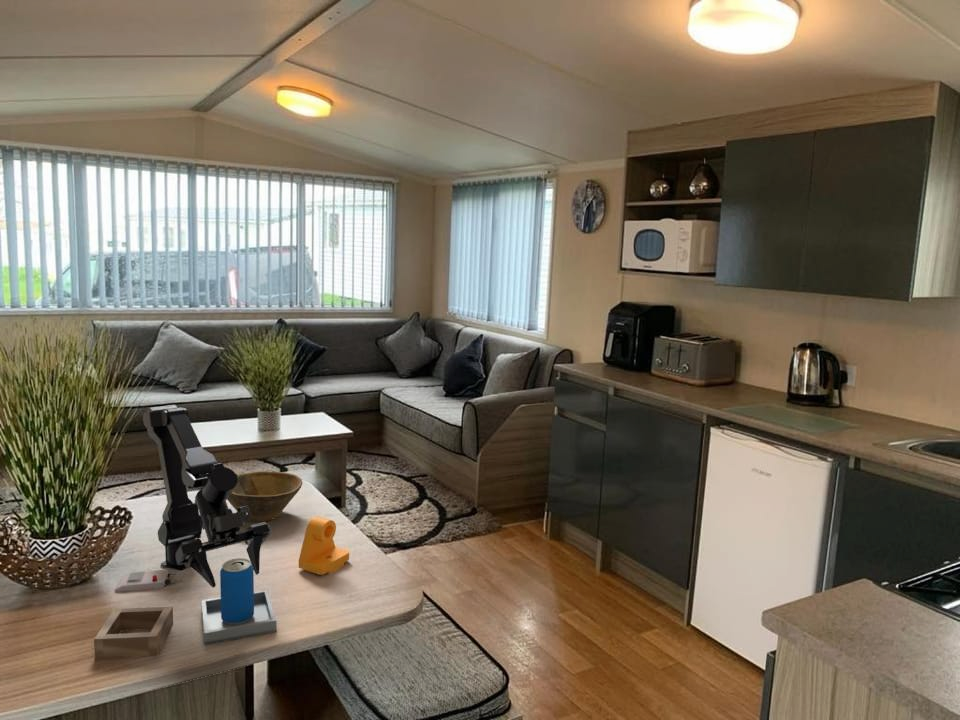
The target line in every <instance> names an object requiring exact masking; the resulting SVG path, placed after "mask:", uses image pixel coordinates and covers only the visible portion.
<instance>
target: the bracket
mask: <svg viewBox="0 0 960 720" xmlns="http://www.w3.org/2000/svg"><path fill="white" fill-rule="evenodd" d="M336 530H337V524H336V522H335V521H334V520H332V519H328V518H324V517H321V516H318V515H315V516H313V517H311V518H310V519H309V521H308V523H307V526H306V529H305V533H304V537H303V541H302V544H301V545H302V546H301V549H300V553H299V557H298V569H301V570H305V571H307V572H310V573H314V574H317V575H325V574H327V575H330V574H332V573H334V572H335V571H337V570H338V569H340V568H342V567H344V566H345V562H346V563H347V562H348V561H349V560H350V551H349V550H347V549H343V548H340V547H339V546H336V545H335V541H334V539H333V538H334V537H335V534H336V532H337V531H336Z"/></svg>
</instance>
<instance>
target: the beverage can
mask: <svg viewBox="0 0 960 720" xmlns="http://www.w3.org/2000/svg"><path fill="white" fill-rule="evenodd" d="M219 573H220V574H219V577H220V579H219V583H220V585H219V586H220V597H221V619H222V620H223V621H224V622H226V623H228V624H231V625H238V624H242V623H245V622H247V621H248V620H249V619H250V618H252V617H253V615H254V592H255V589H254V587H255V586H254V574H255V572H254V570H253V566H252V564H251V561H250V559H247V558H243V557H242V558H232V559H229V560H227V561H225V562H223V564H222V568H221V569H220V572H219Z"/></svg>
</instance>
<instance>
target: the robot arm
mask: <svg viewBox="0 0 960 720" xmlns="http://www.w3.org/2000/svg"><path fill="white" fill-rule="evenodd" d="M142 422H143V425H144V427H145V428H146V430H147V435H148V436H149V437H150V438H151V439H152V440H153V442H155V443H156V445H157V451H158V457H159V461H160V462H159V463H160V468H161V473H162V478H163V485H164V489H165V491H164V492H165V496H166V501H167V503H166V505H165V508H164V511H163V513H162V516H161V517H162V522H161V524H160V526H159V528H158V530H157V538H158V542H159V543H161V544H162V545H163V546H164V547H165V548H164V550H165V561H162V562H161V563H160V567H164V568H168V569H172V570H176V571H184V570H185V569H187V568H189V567H190V568H191V569H192V570H194V571H195V572H196V573H198V574H199V575H200V576H201V577H202V579H204V580H205V581H206V583H207V584H208V585H209V586H210V587H211V588H216V586H217V584H216V581H215V577H214V574H213V572H212V569H211V567H210V564H209V562H208V557H207V552H211V551H213V550H218V549H221V548H225V547H228V546H233V545H237V544H240V543H245V545H247V547H246V549H245V550H246V552H247V556H248V558H249V559H248V560H250V561H251V565H252V566H253V573H254V574H255V575H259V574H260V558H261V557H260V556H261V554H260V553H261V547H262V545H263V543H264V542H266V540H267V539H268V538H269V536H270V535H271V534H272V529H271V527H270V524H268V523H267V522H266V521H261V522H257V523H255V524H251V525H249V526H248V528H247V529H246V531H244V532H240V530H241V528H242V527H245V522H248V521H249V520H251V513H250V510H249V508H248V506H243V507H240V508H237V510H236V512H233V510H232V508H229V507H228V503H227V501H228V500H227V499H228V498H229V496H230V495H231V493H232V491H233V490H234V488H235V486H236V485H237V482H238V478H237V475H238V474H237V473H236V472H235V471H234V470H232V469H231V468H229V467H226V466H224V463H223V462H219V463H218V461H217V459H216V458H215V456H214V455H213V454H212V453H211V452H208V451H207V450H206V449H204V448H203V446H202V445H201V442H200V440H199V438H198V435H197V434H196V432H195V430H194V427H193V425H192V423H191V421H190V419H189V413H188V409H187V408H185V407H178V406H177V405H176V404H169V405H162V406H154V407H148V409H147V410H146V412H144V413H143V414H142ZM199 488H201V489H199ZM187 489H189V490H190V489H191V490H194V489H199V490H198V492H197V493H196V495H195V497H194V502H193V501H192V500H191V499H190V498H189V495H188V491H187ZM249 522H250V521H249ZM202 530H205V531H204V532H205V534H206V538H207V541H205V542H202V539H201V536H202V532H203V531H202ZM237 532H240V533H237Z"/></svg>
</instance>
